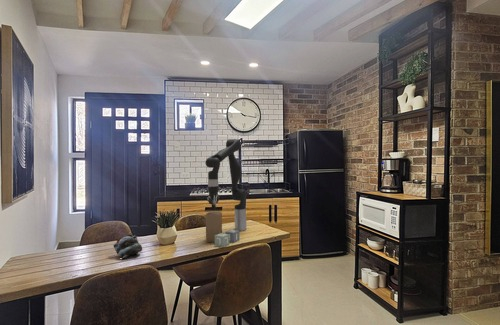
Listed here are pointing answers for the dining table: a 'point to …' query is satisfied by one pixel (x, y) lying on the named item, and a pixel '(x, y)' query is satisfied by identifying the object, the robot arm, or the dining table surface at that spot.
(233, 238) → the slate numbered cube
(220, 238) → the sage numbered cube
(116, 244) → the dark green lumpy piece
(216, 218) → the wooden block
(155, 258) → the dining table surface
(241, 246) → the dining table surface
